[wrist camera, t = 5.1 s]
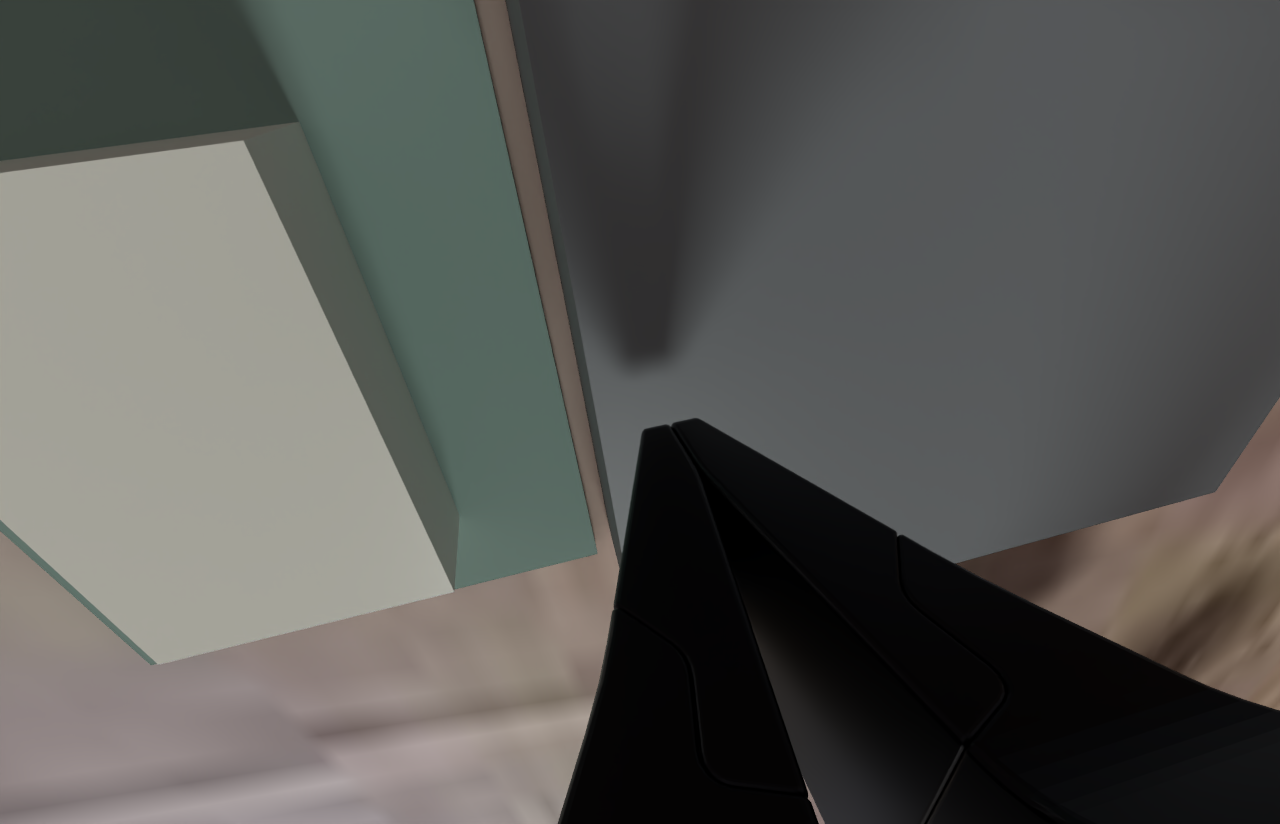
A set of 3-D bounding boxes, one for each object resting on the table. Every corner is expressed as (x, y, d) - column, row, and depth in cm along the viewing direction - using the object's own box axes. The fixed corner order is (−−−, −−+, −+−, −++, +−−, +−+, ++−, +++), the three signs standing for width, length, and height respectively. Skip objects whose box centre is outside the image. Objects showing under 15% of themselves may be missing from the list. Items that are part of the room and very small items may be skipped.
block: (158, 664, 11) (208, 573, 13) (454, 591, 12) (459, 516, 14) (-331, 216, 6) (-130, 177, 8) (243, 140, 7) (298, 122, 9)
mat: (595, 543, 16) (597, 553, 16) (158, 651, 15) (151, 665, 14) (453, -91, 8) (451, -97, 8) (-542, 2, 7) (-594, 0, 6)
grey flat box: (1083, 412, 18) (1215, 492, 15) (609, 527, 16) (640, 650, 13) (1325, -137, 10) (1702, -225, 7) (495, -51, 8) (497, -117, 5)
